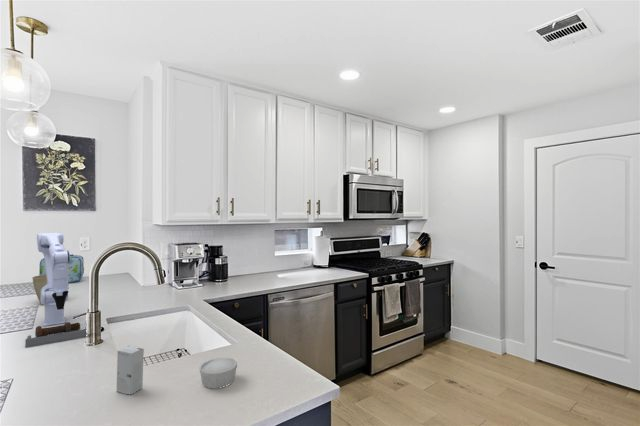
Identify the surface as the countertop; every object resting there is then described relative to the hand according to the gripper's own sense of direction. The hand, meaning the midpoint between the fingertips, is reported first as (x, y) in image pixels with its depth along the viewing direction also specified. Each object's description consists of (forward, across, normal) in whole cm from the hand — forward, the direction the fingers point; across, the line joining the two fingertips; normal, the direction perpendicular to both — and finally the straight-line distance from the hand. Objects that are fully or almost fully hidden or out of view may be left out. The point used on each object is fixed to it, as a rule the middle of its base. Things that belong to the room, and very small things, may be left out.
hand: (60, 308), depth 151 cm
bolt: (+10, +7, 0) cm, 12 cm away
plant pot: (+10, -59, -8) cm, 60 cm away
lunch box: (+10, -127, -5) cm, 127 cm away
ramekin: (+10, +86, +43) cm, 97 cm away
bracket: (+9, +14, 0) cm, 16 cm away
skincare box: (+10, +76, +20) cm, 79 cm away
